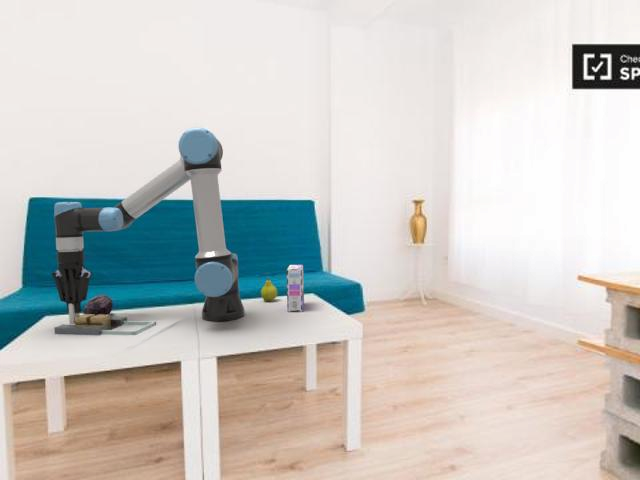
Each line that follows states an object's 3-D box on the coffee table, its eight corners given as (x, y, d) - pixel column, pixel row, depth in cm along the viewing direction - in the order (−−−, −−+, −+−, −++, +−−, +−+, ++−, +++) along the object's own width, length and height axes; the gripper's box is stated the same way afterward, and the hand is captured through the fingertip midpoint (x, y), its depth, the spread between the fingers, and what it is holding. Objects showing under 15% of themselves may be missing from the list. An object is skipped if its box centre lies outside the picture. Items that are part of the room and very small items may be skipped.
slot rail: (127, 327, 139) (127, 317, 139) (99, 340, 125) (98, 328, 125) (87, 326, 141) (86, 316, 141) (55, 338, 127) (54, 327, 127)
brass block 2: (110, 326, 134) (110, 314, 134) (102, 330, 130) (101, 317, 130) (99, 326, 135) (99, 314, 135) (91, 330, 131) (90, 317, 131)
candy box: (302, 312, 156) (301, 268, 155) (287, 312, 156) (286, 268, 155) (304, 303, 169) (303, 264, 168) (290, 304, 170) (289, 264, 168)
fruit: (279, 299, 179) (278, 271, 179) (275, 302, 173) (275, 274, 172) (263, 299, 180) (262, 272, 179) (259, 302, 173) (258, 274, 172)
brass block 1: (95, 326, 135) (94, 314, 135) (86, 329, 131) (86, 317, 131) (84, 326, 136) (83, 314, 135) (75, 329, 132) (74, 317, 132)
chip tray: (156, 329, 136) (155, 321, 136) (135, 339, 125) (134, 331, 124) (125, 328, 138) (124, 320, 138) (101, 338, 126) (101, 330, 126)
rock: (80, 328, 143) (111, 325, 146) (76, 305, 141) (108, 302, 144) (90, 315, 154) (119, 312, 157) (87, 293, 153) (116, 291, 155)
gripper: (96, 249, 135) (100, 320, 137) (61, 249, 137) (65, 319, 139) (80, 251, 128) (84, 326, 129) (42, 251, 130) (47, 325, 131)
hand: (74, 322), depth 134 cm, fingers closed
